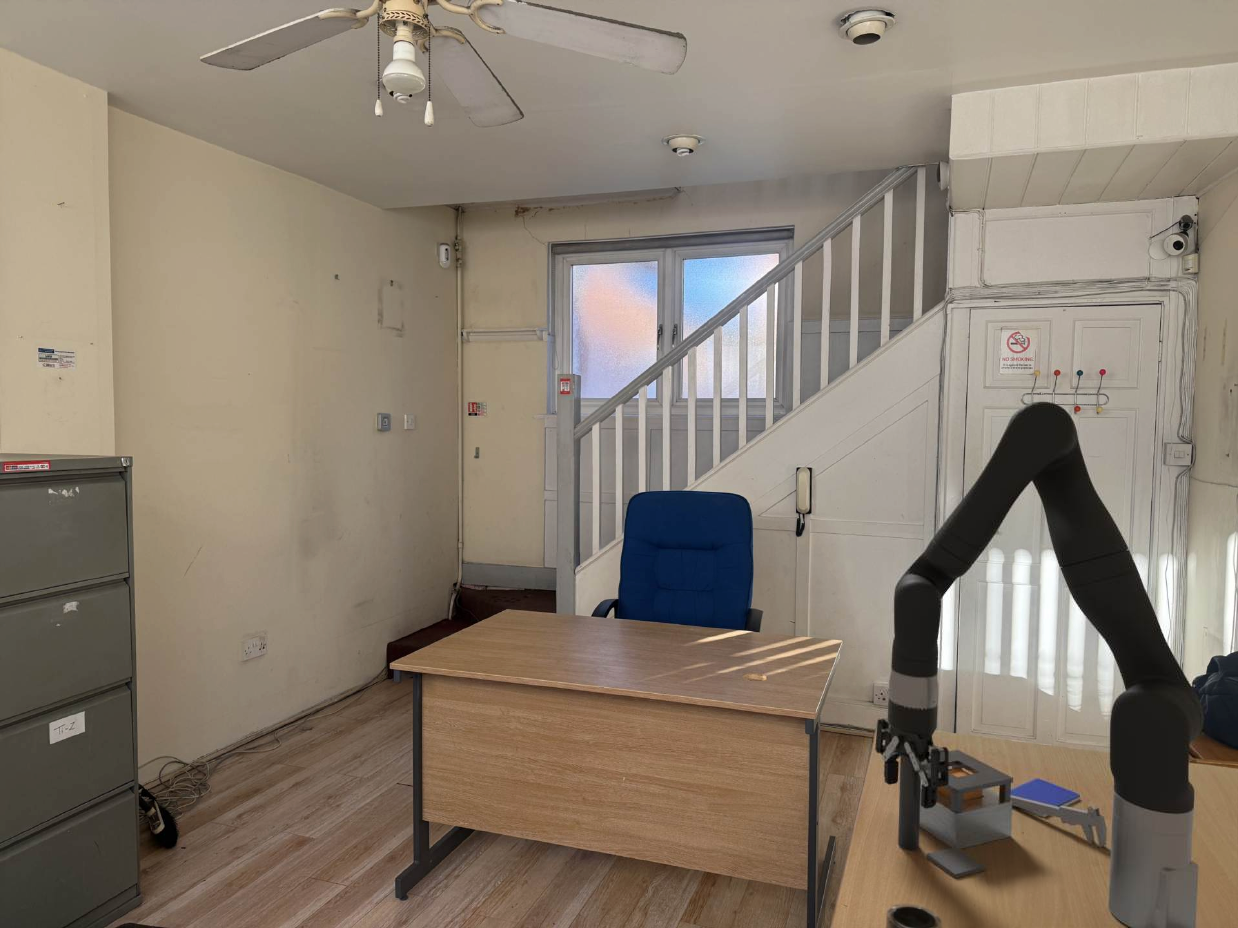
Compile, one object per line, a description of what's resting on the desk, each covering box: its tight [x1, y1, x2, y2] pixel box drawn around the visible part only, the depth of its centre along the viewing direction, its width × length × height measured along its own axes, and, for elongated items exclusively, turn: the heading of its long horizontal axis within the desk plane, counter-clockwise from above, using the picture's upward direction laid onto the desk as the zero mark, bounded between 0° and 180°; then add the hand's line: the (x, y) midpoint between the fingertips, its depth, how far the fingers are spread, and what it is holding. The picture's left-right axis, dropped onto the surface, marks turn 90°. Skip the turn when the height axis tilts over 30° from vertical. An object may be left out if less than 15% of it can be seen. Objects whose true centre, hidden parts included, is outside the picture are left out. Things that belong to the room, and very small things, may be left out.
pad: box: [925, 847, 986, 879], centre depth 123 cm, size 6×6×1 cm
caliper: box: [995, 791, 1107, 848], centre depth 137 cm, size 20×1×6 cm, turn 31°
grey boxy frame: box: [919, 749, 1014, 850], centre depth 134 cm, size 12×12×10 cm
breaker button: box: [937, 767, 983, 801], centre depth 134 cm, size 6×6×5 cm
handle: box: [897, 753, 921, 851], centre depth 128 cm, size 3×3×15 cm
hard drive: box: [1011, 777, 1081, 818], centre depth 145 cm, size 2×8×12 cm
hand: (908, 794), depth 129 cm, fingers open, 8 cm apart
